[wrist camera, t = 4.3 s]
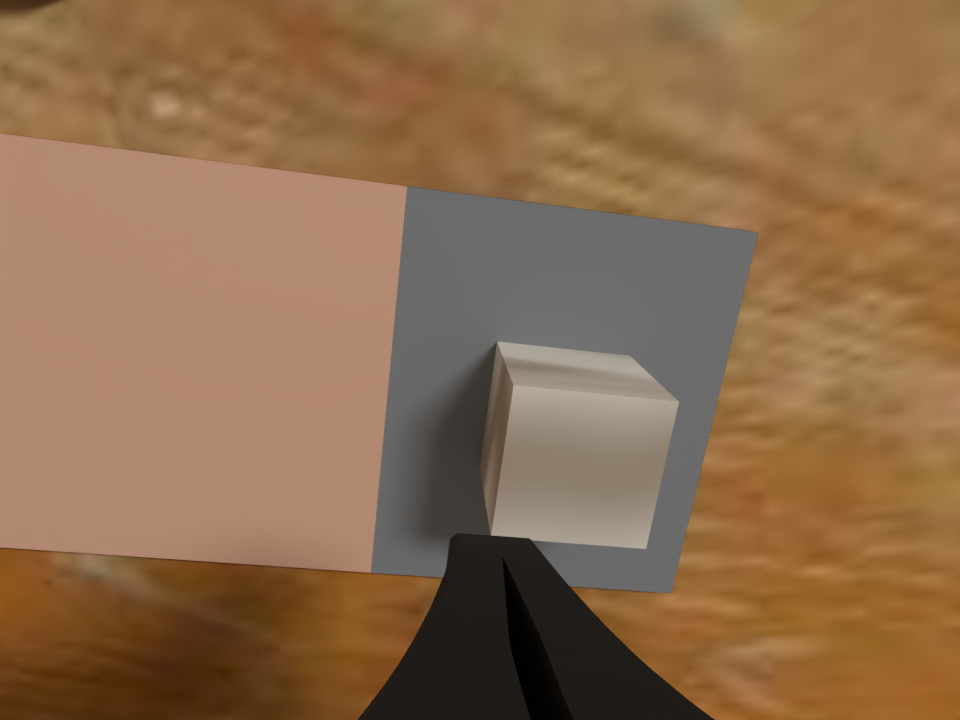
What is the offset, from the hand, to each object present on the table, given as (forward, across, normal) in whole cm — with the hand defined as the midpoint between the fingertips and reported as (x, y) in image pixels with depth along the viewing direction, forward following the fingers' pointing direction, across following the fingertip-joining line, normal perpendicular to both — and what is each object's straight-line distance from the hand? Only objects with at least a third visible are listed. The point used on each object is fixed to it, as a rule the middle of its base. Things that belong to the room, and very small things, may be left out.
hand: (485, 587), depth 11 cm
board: (+9, +2, 0) cm, 10 cm away
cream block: (+9, -3, 0) cm, 9 cm away
